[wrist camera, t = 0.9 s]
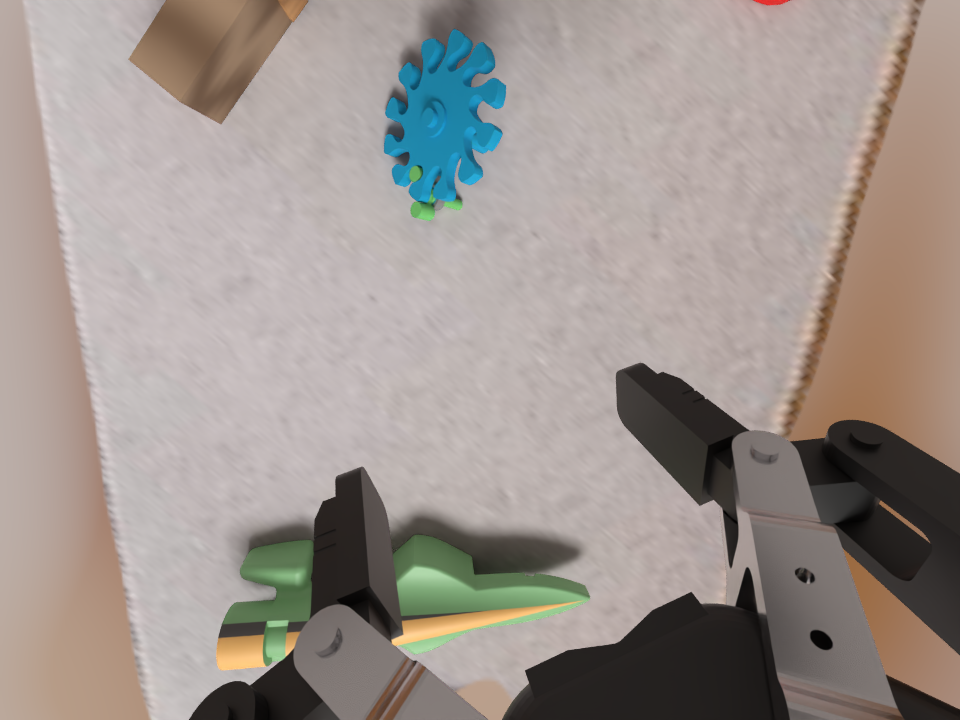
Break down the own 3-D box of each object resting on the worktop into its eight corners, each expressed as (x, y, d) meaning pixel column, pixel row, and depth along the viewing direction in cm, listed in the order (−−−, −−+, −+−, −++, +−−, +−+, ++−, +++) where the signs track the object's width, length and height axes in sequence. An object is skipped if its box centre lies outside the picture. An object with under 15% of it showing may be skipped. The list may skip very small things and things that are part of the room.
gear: (398, 18, 27) (517, 31, 22) (458, 61, 31) (567, 80, 26) (359, 192, 31) (452, 237, 26) (418, 208, 35) (506, 248, 30)
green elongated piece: (582, 525, 42) (613, 583, 35) (571, 607, 45) (597, 675, 38) (247, 541, 38) (207, 609, 31) (259, 630, 41) (225, 711, 34)
